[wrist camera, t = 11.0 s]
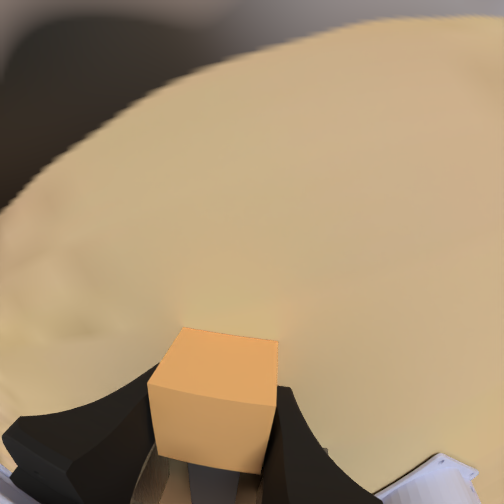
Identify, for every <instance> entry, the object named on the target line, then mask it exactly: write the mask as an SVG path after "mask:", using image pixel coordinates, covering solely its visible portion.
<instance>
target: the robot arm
mask: <svg viewBox="0 0 504 504" xmlns="http://www.w3.org/2000/svg"><path fill="white" fill-rule="evenodd" d="M159 364H160V363H158V364H157V365H155V366H154V367H152V368H151V369H149V370H148V371H147V372H145V373H144V374H142V375H141V376H139V377H138V378H136V379H135V380H133V381H132V382H130V383H129V384H127V385H126V386H124V387H122V388H120V389H119V390H117V391H115V392H113V393H111V394H110V395H108V396H106V397H104V398H102V399H99V400H97V401H95V402H92V403H90V404H87V405H84V406H81V407H77V408H74V409H71V410H67V411H63V412H58V413H53V414H47V415H37V416H20V417H19V418H18V419H17V420H16V421H15V422H14V423H13V424H12V425H11V426H10V427H9V428H8V430H7V431H6V432H5V433H4V434H3V435H2V440H3V444H4V445H5V447H6V449H7V450H8V452H9V454H10V455H11V457H12V458H13V460H14V461H15V463H16V464H17V465H18V467H17V468H16V469H15V471H14V472H13V473H12V472H10V471H9V470H8V469H6V468H5V467H4V466H3V465H2V464H0V504H130V501H131V498H132V495H133V492H134V489H135V486H136V483H137V480H138V477H139V475H140V472H141V470H142V467H143V464H144V462H145V460H146V458H147V456H148V454H149V452H150V450H151V448H152V446H153V444H154V443H155V441H156V440H155V434H154V428H153V422H152V416H151V409H150V402H149V394H148V386H147V383H148V381H149V379H150V378H151V376H152V375H153V373H154V372H155V370H156V368H157V367H158V365H159ZM478 474H479V472H478V470H477V469H474V468H472V467H470V466H468V465H466V464H464V463H461V462H459V461H457V460H455V459H453V458H451V457H449V456H447V455H445V454H443V453H439V454H436V455H435V456H433V457H432V458H431V459H429V460H428V461H427V462H425V463H424V464H422V465H421V466H419V467H418V468H417V469H415V470H414V471H412V472H411V473H409V474H408V475H406V476H405V477H403V478H402V479H400V480H398V481H397V482H395V483H394V484H392V485H390V486H389V487H387V488H385V489H383V490H382V491H380V492H378V493H376V494H375V495H373V494H371V493H369V492H368V491H366V490H365V489H363V488H362V487H361V486H359V485H358V484H357V483H356V482H354V481H353V480H352V479H351V478H350V477H349V476H348V475H347V474H346V473H344V472H343V471H342V470H341V469H340V468H339V467H338V466H337V465H336V464H335V462H334V461H333V460H332V459H331V458H330V457H329V456H328V454H327V453H326V452H325V450H324V449H323V448H322V447H321V445H320V444H319V442H318V441H317V439H316V438H315V436H314V435H313V433H312V432H311V430H310V428H309V426H308V425H307V423H306V421H305V419H304V417H303V415H302V413H301V411H300V409H299V407H298V405H297V402H296V400H295V397H294V395H293V392H292V389H291V388H290V387H283V386H277V398H276V409H275V414H274V418H273V423H272V427H271V431H270V435H269V440H268V444H267V448H266V452H265V456H264V484H263V496H262V503H261V504H481V502H480V500H479V497H478V495H477V493H476V491H475V489H474V486H473V484H472V482H471V480H472V479H473V478H475V477H476V476H477V475H478Z"/></svg>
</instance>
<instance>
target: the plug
mask: <svg viewBox="0 0 504 504" xmlns="http://www.w3.org/2000/svg"><path fill="white" fill-rule="evenodd" d="M277 366H278V341H271V340H263V339H255V338H247V337H240V336H233V335H227V334H220V333H214V332H208V331H202V330H196V329H190V328H185V327H183V328H182V330H181V331H180V333H179V335H178V336H177V338H176V339H175V341H174V342H173V344H172V345H171V347H170V348H169V350H168V351H167V353H166V355H165V356H164V358H163V359H162V361H161V362H160V364H159V365H158V367H157V368H156V370H155V372H154V373H153V375H152V376H151V378H150V379H149V381H148V383H147V386H148V394H149V402H150V409H151V416H152V422H153V428H154V434H155V440H156V445H157V451H158V455H161V456H165V457H168V458H172V459H176V460H180V461H184V462H188V471H189V481H190V491H191V500H192V504H235V500H236V494H237V488H238V482H239V476H240V472H246V473H255V474H260V472H261V468H262V464H263V460H264V456H265V452H266V448H267V444H268V440H269V435H270V431H271V427H272V423H273V418H274V414H275V409H276V398H277Z"/></svg>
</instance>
